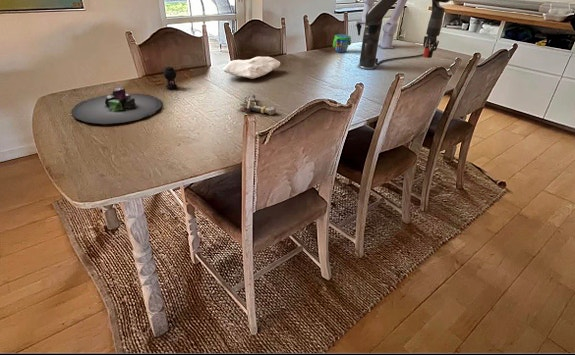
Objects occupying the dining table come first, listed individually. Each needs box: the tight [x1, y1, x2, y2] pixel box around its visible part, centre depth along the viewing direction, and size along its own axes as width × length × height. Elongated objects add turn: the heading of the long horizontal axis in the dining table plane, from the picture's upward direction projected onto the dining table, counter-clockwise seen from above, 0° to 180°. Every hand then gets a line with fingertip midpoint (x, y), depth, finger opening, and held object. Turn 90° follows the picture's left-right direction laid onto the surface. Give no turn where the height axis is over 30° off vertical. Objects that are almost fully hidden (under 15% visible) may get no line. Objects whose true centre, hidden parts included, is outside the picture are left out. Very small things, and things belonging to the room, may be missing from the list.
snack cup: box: [332, 34, 352, 53], centre depth 246 cm, size 16×10×10 cm
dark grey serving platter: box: [70, 86, 163, 125], centre depth 150 cm, size 35×35×9 cm
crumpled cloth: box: [222, 56, 281, 80], centre depth 195 cm, size 24×35×9 cm
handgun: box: [239, 93, 277, 116], centre depth 158 cm, size 3×18×15 cm
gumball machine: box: [161, 66, 179, 90], centre depth 173 cm, size 7×6×10 cm
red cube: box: [422, 47, 432, 59], centre depth 220 cm, size 5×5×5 cm
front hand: (427, 56), depth 221 cm, fingers closed on red cube, 5 cm apart
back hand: (363, 35), depth 257 cm, fingers open, 7 cm apart
